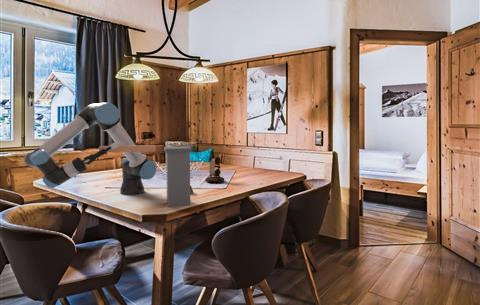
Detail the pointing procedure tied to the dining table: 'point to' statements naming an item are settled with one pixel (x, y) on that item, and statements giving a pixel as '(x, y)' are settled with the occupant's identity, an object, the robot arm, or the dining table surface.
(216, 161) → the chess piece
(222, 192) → the dining table surface
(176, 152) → the pedestal
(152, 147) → the slat
